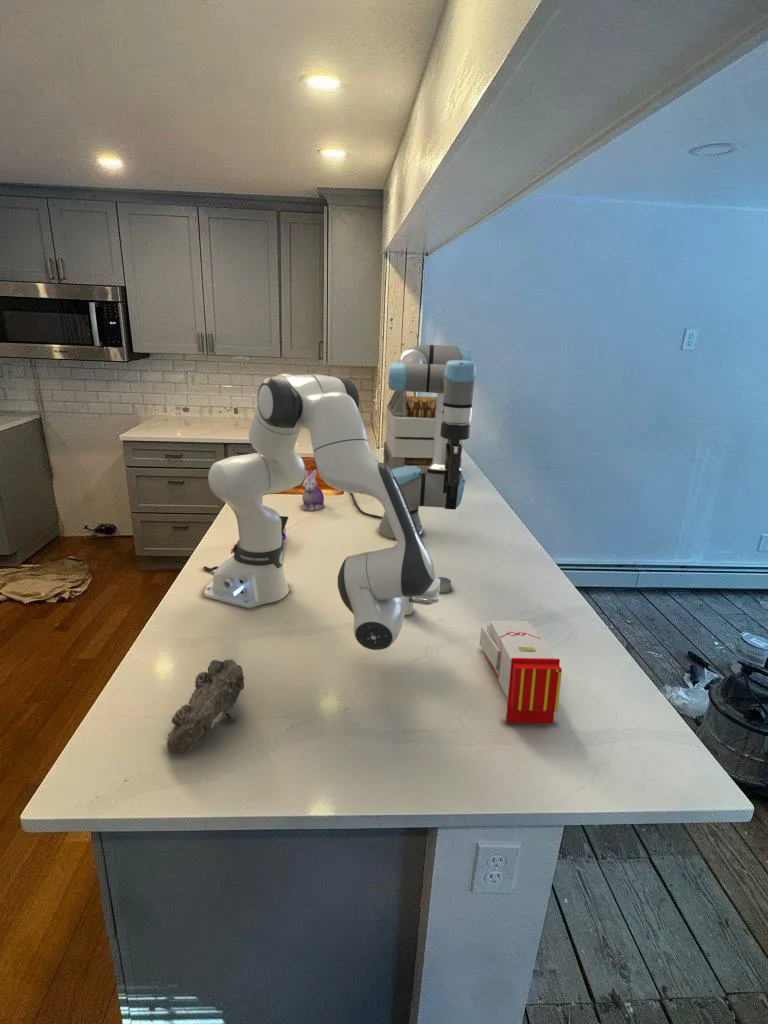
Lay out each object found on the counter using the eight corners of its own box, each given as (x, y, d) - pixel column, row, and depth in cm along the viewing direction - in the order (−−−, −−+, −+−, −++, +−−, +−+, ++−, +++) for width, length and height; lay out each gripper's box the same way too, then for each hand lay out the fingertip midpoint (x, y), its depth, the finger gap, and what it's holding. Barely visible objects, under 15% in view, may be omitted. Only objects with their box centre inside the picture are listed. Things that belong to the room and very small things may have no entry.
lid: (429, 589, 161) (430, 582, 160) (437, 582, 165) (437, 575, 165) (446, 594, 159) (447, 586, 158) (453, 587, 163) (454, 579, 162)
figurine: (306, 512, 216) (305, 474, 210) (297, 504, 224) (296, 467, 219) (329, 509, 220) (329, 472, 215) (319, 501, 228) (319, 465, 223)
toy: (526, 605, 135) (570, 665, 105) (521, 658, 137) (563, 730, 108) (475, 604, 134) (506, 664, 105) (472, 657, 137) (500, 729, 108)
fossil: (192, 660, 117) (244, 628, 112) (224, 691, 120) (276, 661, 115) (142, 746, 98) (202, 712, 93) (182, 779, 101) (242, 748, 96)
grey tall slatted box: (382, 463, 289) (386, 382, 275) (445, 464, 293) (451, 384, 279) (390, 482, 257) (394, 392, 243) (460, 483, 261) (468, 394, 247)
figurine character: (283, 556, 181) (289, 533, 194) (282, 535, 178) (288, 514, 191) (262, 555, 181) (269, 533, 194) (260, 534, 177) (268, 513, 191)
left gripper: (439, 590, 117) (445, 562, 130) (343, 577, 120) (358, 551, 133) (436, 617, 119) (442, 587, 132) (342, 603, 122) (357, 575, 135)
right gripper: (439, 413, 158) (433, 486, 165) (443, 431, 134) (436, 515, 142) (466, 414, 158) (459, 487, 165) (475, 433, 134) (467, 517, 141)
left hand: (399, 569), depth 132 cm, fingers open, 8 cm apart
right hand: (449, 500), depth 153 cm, fingers open, 13 cm apart
